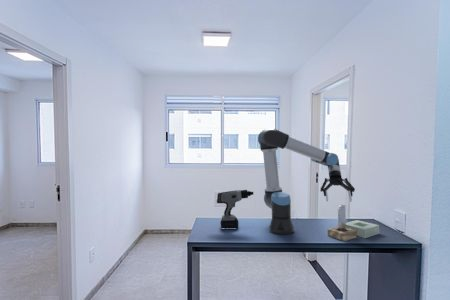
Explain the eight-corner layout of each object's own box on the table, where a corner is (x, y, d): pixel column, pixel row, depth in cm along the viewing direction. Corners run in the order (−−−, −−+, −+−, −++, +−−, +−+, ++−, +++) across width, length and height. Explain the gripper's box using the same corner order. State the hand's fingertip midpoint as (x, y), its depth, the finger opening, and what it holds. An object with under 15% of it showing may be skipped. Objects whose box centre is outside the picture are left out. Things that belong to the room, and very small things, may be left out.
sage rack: (343, 231, 166) (343, 223, 166) (357, 227, 173) (357, 219, 173) (365, 238, 154) (364, 229, 154) (379, 233, 161) (378, 225, 161)
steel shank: (336, 236, 158) (336, 205, 158) (341, 235, 160) (340, 204, 160) (342, 238, 155) (342, 206, 155) (347, 236, 157) (346, 205, 157)
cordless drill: (254, 229, 175) (253, 190, 175) (216, 229, 176) (216, 191, 175) (253, 225, 183) (252, 188, 183) (217, 226, 184) (216, 189, 183)
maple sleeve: (327, 235, 160) (327, 229, 160) (339, 232, 165) (339, 225, 165) (344, 241, 150) (344, 234, 150) (356, 237, 156) (356, 230, 156)
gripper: (354, 176, 182) (360, 204, 167) (314, 176, 188) (317, 203, 173) (355, 169, 176) (361, 197, 162) (315, 169, 182) (317, 196, 168)
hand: (338, 200), depth 168 cm, fingers open, 13 cm apart
